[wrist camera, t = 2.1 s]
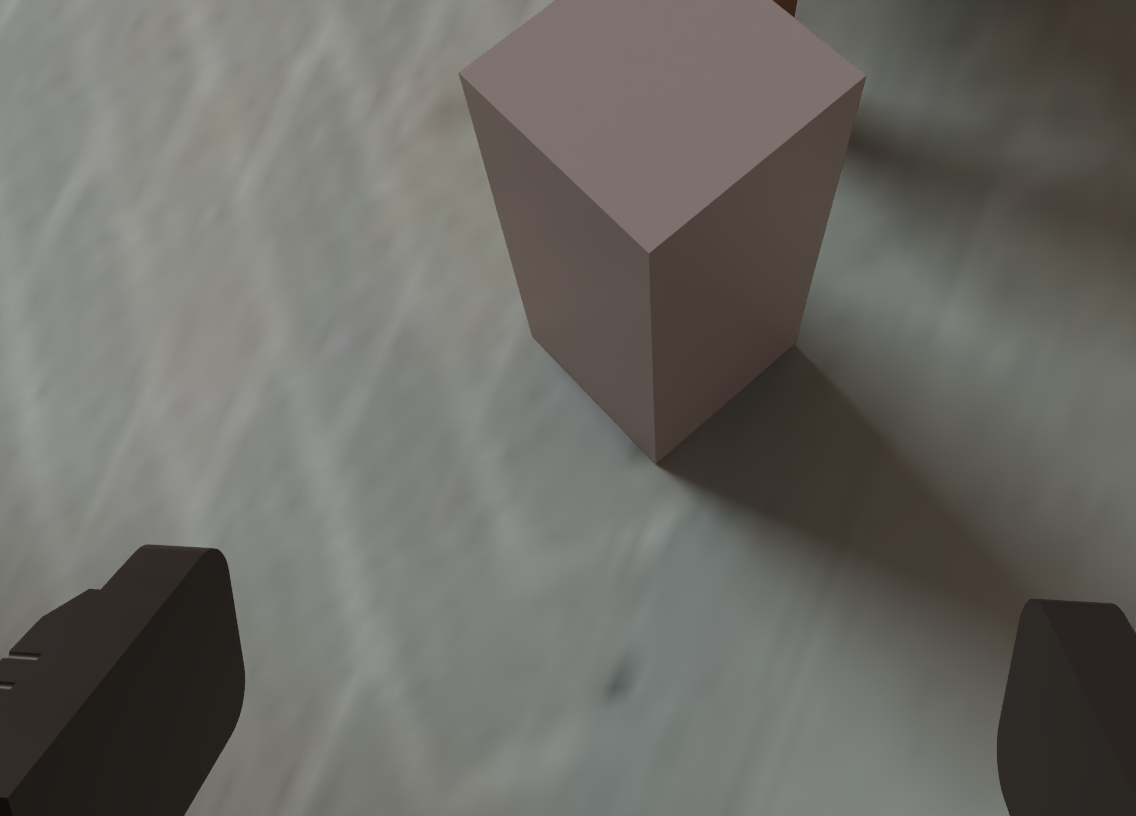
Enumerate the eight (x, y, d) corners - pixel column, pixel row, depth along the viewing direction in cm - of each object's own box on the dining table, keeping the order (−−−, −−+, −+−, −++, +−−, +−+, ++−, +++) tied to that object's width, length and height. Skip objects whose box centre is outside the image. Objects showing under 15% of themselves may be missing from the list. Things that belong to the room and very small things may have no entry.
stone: (655, 464, 25) (649, 253, 16) (531, 336, 26) (458, 72, 17) (794, 344, 26) (866, 75, 16) (667, 225, 27) (666, -84, 18)
